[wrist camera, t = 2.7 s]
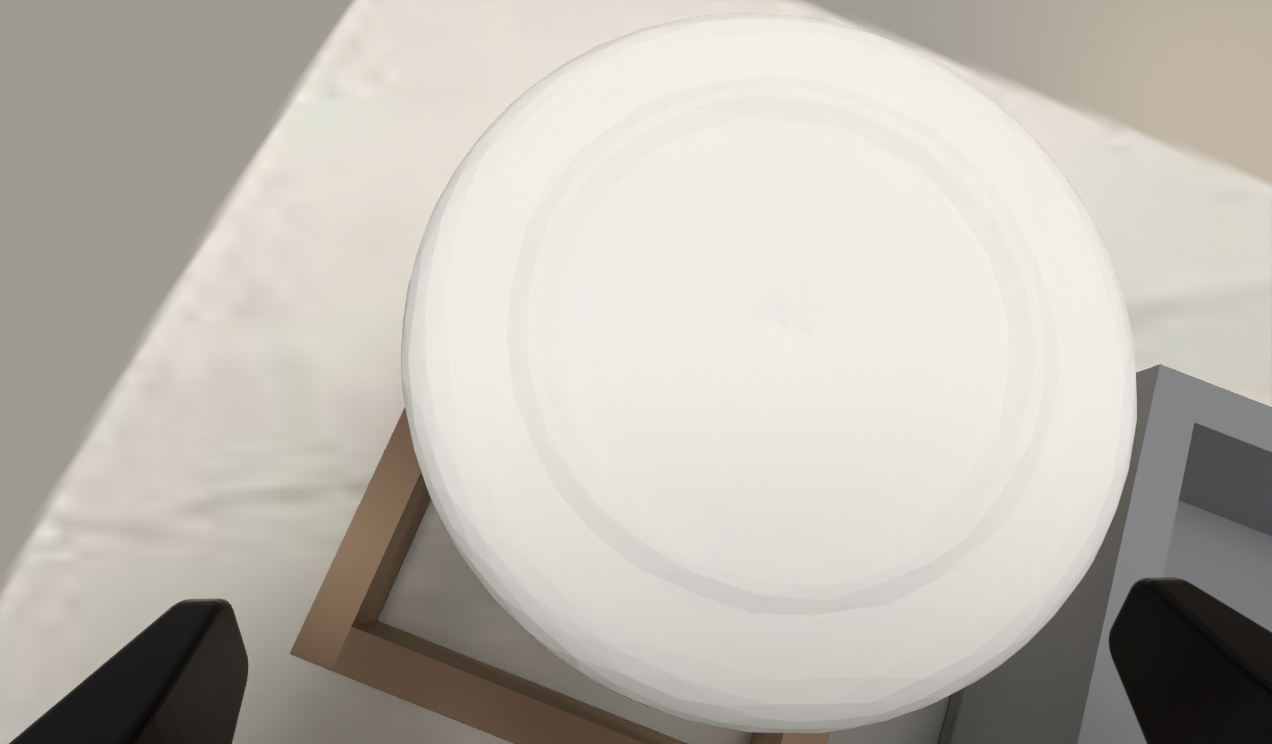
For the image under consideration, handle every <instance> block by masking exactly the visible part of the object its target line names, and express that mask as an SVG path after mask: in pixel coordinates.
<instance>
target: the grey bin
mask: <svg viewBox="0 0 1272 744" xmlns="http://www.w3.org/2000/svg"><path fill="white" fill-rule="evenodd" d="M1136 393H1137V422H1136V428H1135V434H1134V440H1133V446H1132V452H1131V459H1130V465H1129V471H1128V474H1127V477H1126V480H1125V484H1124V487H1123V490H1122V494H1121V497H1120V500H1119V503H1118V507H1117V510H1116V512H1115V515H1114V517H1113V519H1112V521H1111V524H1110V526H1109V528H1108V531H1107V533H1106V535H1105V538H1104V540H1103V542H1102V545H1101V546H1100V548H1099V550H1098V552H1097V554H1096V556H1095V559H1094V561H1093V563H1092V564H1091V566H1090V568H1089V569H1088V571H1087V572H1086V574H1085V575H1084V577H1083V578H1082V580H1081V581H1080V582H1079V584H1078V585H1077V586H1076V588H1075V589H1074V590H1073V592H1072V593H1071V594H1070V596H1069V597H1068V598H1067V600H1066V601H1065V602H1064V603H1063V605H1062V606H1061V607H1060V609H1059V610H1058V611H1057V612H1056V614H1055V615H1054V616H1053V617H1052V618H1051V619H1050V620H1049V622H1048V623H1047V624H1046V625H1045V626H1044V627H1043V628H1042V629H1041V630H1040V631H1039V632H1038V633H1037V634H1036V635H1035V636H1034V637H1033V638H1032V639H1031V640H1030V641H1029V642H1028V643H1027V644H1026V645H1024V646H1023V647H1022V648H1021V649H1020V650H1018V651H1017V652H1016V653H1015V654H1014V655H1012V656H1011V657H1010V658H1009V659H1008V660H1006V661H1005V662H1004V663H1003V664H1002V665H1000V666H999V667H997V668H996V669H994V670H993V671H991V672H990V673H988V674H987V675H985V676H984V677H982V678H981V679H979V680H978V681H976V682H974V683H972V684H970V685H969V686H967V687H965V688H963V689H961V690H959V691H957V692H955V693H953V694H951V697H950V701H949V705H948V709H947V713H946V716H945V720H944V724H943V728H942V732H941V736H940V739H939V743H938V744H1147V743H1146V741H1145V738H1144V736H1143V733H1142V731H1141V728H1140V726H1139V723H1138V721H1137V718H1136V716H1135V714H1134V711H1133V709H1132V706H1131V704H1130V701H1129V699H1128V696H1127V694H1126V692H1125V689H1124V687H1123V684H1122V682H1121V679H1120V677H1119V674H1118V672H1117V670H1116V667H1115V665H1114V662H1113V660H1112V657H1111V654H1110V649H1109V639H1108V638H1109V632H1110V629H1111V627H1112V625H1113V623H1114V621H1115V619H1116V617H1117V615H1118V613H1119V611H1120V609H1121V607H1122V605H1123V603H1124V601H1125V599H1126V597H1127V595H1128V593H1129V591H1130V589H1131V587H1132V586H1133V584H1134V583H1135V582H1137V581H1138V580H1140V579H1143V578H1162V577H1175V578H1181V579H1183V580H1186V581H1188V582H1190V583H1191V584H1193V585H1195V586H1196V587H1198V588H1200V589H1201V590H1203V591H1205V592H1206V593H1208V594H1210V595H1211V596H1213V597H1215V598H1216V599H1218V600H1219V601H1221V602H1223V603H1224V604H1226V605H1228V606H1229V607H1231V608H1233V609H1234V610H1236V611H1238V612H1239V613H1241V614H1243V615H1244V616H1246V617H1247V618H1249V619H1251V620H1252V621H1254V622H1256V623H1257V624H1259V625H1261V626H1262V627H1264V628H1266V629H1267V630H1269V631H1270V632H1272V407H1270V406H1267V405H1264V404H1262V403H1259V402H1257V401H1254V400H1251V399H1249V398H1246V397H1244V396H1241V395H1238V394H1236V393H1233V392H1231V391H1228V390H1225V389H1223V388H1220V387H1218V386H1215V385H1212V384H1210V383H1207V382H1205V381H1202V380H1200V379H1197V378H1194V377H1192V376H1189V375H1187V374H1184V373H1181V372H1179V371H1176V370H1174V369H1171V368H1168V367H1166V366H1163V365H1161V364H1160V365H1157V366H1154V367H1151V368H1149V369H1146V370H1143V371H1140V372H1137V373H1136Z"/></svg>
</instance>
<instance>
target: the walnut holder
mask: <svg viewBox="0 0 1272 744" xmlns="http://www.w3.org/2000/svg"><path fill="white" fill-rule="evenodd" d="M430 500H431V498H430V495H429V492H428V489H427V487H426V484H425V481H424V478H423V475H422V472H421V469H420V466H419V463H418V460H417V457H416V454H415V451H414V447H413V442H412V437H411V433H410V428H409V423H408V419H407V414H406V409H405V408H404V410H403V413H402V415H401V417H400V419H399V421H398V423H397V425H396V428H395V430H394V432H393V434H392V436H391V438H390V440H389V443H388V445H387V447H386V449H385V451H384V453H383V455H382V458H381V460H380V462H379V464H378V466H377V468H376V470H375V473H374V475H373V477H372V479H371V481H370V483H369V485H368V488H367V490H366V492H365V494H364V496H363V498H362V500H361V502H360V505H359V507H358V509H357V511H356V513H355V515H354V517H353V520H352V522H351V524H350V526H349V528H348V530H347V532H346V535H345V537H344V539H343V541H342V543H341V545H340V547H339V550H338V552H337V554H336V556H335V558H334V560H333V562H332V565H331V567H330V569H329V571H328V573H327V575H326V577H325V580H324V582H323V584H322V586H321V588H320V590H319V592H318V595H317V597H316V599H315V601H314V603H313V605H312V607H311V610H310V612H309V614H308V616H307V618H306V620H305V622H304V624H303V627H302V629H301V631H300V633H299V635H298V637H297V639H296V642H295V644H294V646H293V648H292V650H291V652H290V654H291V655H294V656H296V657H299V658H301V659H304V660H306V661H309V662H311V663H314V664H316V665H319V666H321V667H324V668H326V669H329V670H331V671H334V672H336V673H339V674H341V675H344V676H346V677H349V678H351V679H354V680H356V681H359V682H361V683H364V684H366V685H369V686H371V687H374V688H376V689H379V690H381V691H384V692H386V693H389V694H391V695H394V696H396V697H399V698H401V699H404V700H406V701H409V702H411V703H414V704H416V705H419V706H422V707H424V708H427V709H429V710H432V711H434V712H437V713H439V714H442V715H444V716H447V717H449V718H452V719H454V720H457V721H459V722H462V723H464V724H467V725H469V726H472V727H474V728H477V729H479V730H482V731H484V732H487V733H489V734H492V735H494V736H497V737H499V738H502V739H504V740H507V741H509V742H512V743H514V744H686V743H683V742H681V741H678V740H676V739H673V738H671V737H668V736H666V735H663V734H661V733H658V732H656V731H653V730H651V729H648V728H646V727H643V726H641V725H638V724H636V723H633V722H631V721H628V720H626V719H623V718H621V717H618V716H615V715H613V714H610V713H608V712H605V711H603V710H600V709H598V708H595V707H593V706H590V705H588V704H585V703H583V702H580V701H578V700H575V699H573V698H570V697H568V696H565V695H563V694H560V693H558V692H555V691H553V690H550V689H548V688H545V687H542V686H540V685H537V684H535V683H532V682H530V681H527V680H525V679H522V678H520V677H517V676H515V675H512V674H510V673H507V672H505V671H502V670H500V669H497V668H495V667H492V666H490V665H487V664H485V663H482V662H480V661H477V660H475V659H472V658H469V657H467V656H464V655H462V654H459V653H457V652H454V651H452V650H449V649H447V648H444V647H442V646H439V645H437V644H434V643H432V642H429V641H427V640H424V639H422V638H419V637H417V636H414V635H412V634H409V633H407V632H404V631H402V630H399V629H397V628H394V627H391V626H389V625H386V624H384V623H381V622H379V621H377V619H378V616H379V614H380V612H381V610H382V607H383V605H384V603H385V601H386V598H387V596H388V594H389V592H390V589H391V587H392V585H393V583H394V580H395V578H396V576H397V574H398V571H399V569H400V567H401V565H402V562H403V560H404V558H405V556H406V553H407V551H408V549H409V547H410V544H411V542H412V540H413V538H414V535H415V533H416V531H417V529H418V526H419V524H420V522H421V520H422V517H423V515H424V513H425V511H426V509H427V506H428V504H429V502H430ZM829 734H830V732H827V733H820V734H813V733H756V732H754V734H753V737H752V740H751V744H827V741H828V738H829Z"/></svg>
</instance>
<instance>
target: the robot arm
mask: <svg viewBox="0 0 1272 744" xmlns="http://www.w3.org/2000/svg"><path fill="white" fill-rule="evenodd" d="M1108 639H1109V649H1110V654H1111V657H1112V660H1113V662H1114V665H1115V667H1116V670H1117V672H1118V674H1119V677H1120V679H1121V682H1122V684H1123V687H1124V689H1125V692H1126V694H1127V696H1128V699H1129V701H1130V704H1131V706H1132V709H1133V711H1134V714H1135V716H1136V718H1137V721H1138V723H1139V726H1140V728H1141V731H1142V733H1143V736H1144V738H1145V741H1146V743H1147V744H1272V632H1270V631H1269V630H1267V629H1266V628H1264V627H1262V626H1261V625H1259V624H1257V623H1256V622H1254V621H1252V620H1251V619H1249V618H1247V617H1246V616H1244V615H1243V614H1241V613H1239V612H1238V611H1236V610H1234V609H1233V608H1231V607H1229V606H1228V605H1226V604H1224V603H1223V602H1221V601H1219V600H1218V599H1216V598H1215V597H1213V596H1211V595H1210V594H1208V593H1206V592H1205V591H1203V590H1201V589H1200V588H1198V587H1196V586H1195V585H1193V584H1191V583H1190V582H1188V581H1186V580H1183V579H1181V578H1175V577H1162V578H1143V579H1140V580H1138V581H1137V582H1135V583H1134V584H1133V586H1132V587H1131V589H1130V591H1129V593H1128V595H1127V597H1126V599H1125V601H1124V603H1123V605H1122V607H1121V609H1120V611H1119V613H1118V615H1117V617H1116V619H1115V621H1114V623H1113V625H1112V627H1111V629H1110V632H1109V638H1108ZM247 676H248V657H247V653H246V650H245V646H244V643H243V640H242V637H241V633H240V630H239V627H238V624H237V620H236V617H235V614H234V611H233V608H232V606H231V605H230V603H229V602H228V601H226V600H223V599H188V600H183V601H181V602H179V603H177V604H175V605H174V606H172V607H171V608H170V609H169V610H167V611H166V612H165V613H164V614H163V615H161V616H160V617H159V618H158V619H157V620H156V621H154V622H153V623H152V624H151V625H150V626H148V627H147V628H146V629H145V630H144V631H142V632H141V633H140V634H139V635H138V636H137V637H135V638H134V639H133V640H132V641H131V642H129V643H128V644H127V645H126V646H125V647H123V648H122V649H121V650H120V651H119V652H117V653H116V654H115V655H114V656H113V657H112V658H110V659H109V660H108V661H107V662H106V663H104V664H103V665H102V666H101V667H100V668H98V669H97V670H96V671H95V672H94V673H93V674H91V675H90V676H89V677H88V678H87V679H85V680H84V681H83V682H82V683H81V684H79V685H78V686H77V687H76V688H75V689H73V690H72V691H71V692H70V693H69V694H68V695H66V696H65V697H64V698H63V699H62V700H60V701H59V702H58V703H57V704H56V705H54V706H53V707H52V708H51V709H50V710H49V711H47V712H46V713H45V714H44V715H43V716H41V717H40V718H39V719H38V720H37V721H35V722H34V723H33V724H32V725H31V726H29V727H28V728H27V729H26V730H25V731H24V732H22V733H21V734H20V735H19V736H18V737H16V738H15V739H14V740H13V741H12V742H10V743H9V744H232V741H233V737H234V733H235V728H236V724H237V720H238V716H239V712H240V707H241V703H242V699H243V695H244V691H245V687H246V682H247Z"/></svg>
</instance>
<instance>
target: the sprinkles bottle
mask: <svg viewBox="0 0 1272 744" xmlns="http://www.w3.org/2000/svg"><path fill="white" fill-rule="evenodd" d="M401 372H402V385H403V393H404V401H405V409H406V414H407V419H408V423H409V428H410V433H411V437H412V442H413V447H414V451H415V454H416V457H417V460H418V463H419V466H420V469H421V472H422V475H423V478H424V481H425V484H426V487H427V489H428V492H429V495H430V498H431V500H432V503H433V505H434V507H435V509H436V511H437V513H438V515H439V517H440V519H441V521H442V523H443V525H444V527H445V529H446V531H447V533H448V535H449V536H450V538H451V540H452V542H453V543H454V545H455V547H456V548H457V550H458V552H459V553H460V555H461V557H462V558H463V559H464V561H465V562H466V563H467V565H468V566H469V567H470V568H471V570H472V571H473V572H474V574H475V575H476V576H477V578H478V579H479V580H480V582H481V583H482V584H483V586H484V587H485V588H486V589H487V591H488V592H489V593H490V595H491V596H492V597H493V598H494V599H495V600H496V601H497V602H498V603H499V604H500V606H501V607H502V608H503V609H504V610H505V611H506V612H507V613H508V614H509V615H510V616H511V617H512V618H513V620H514V621H516V622H517V623H518V624H519V625H520V626H521V627H522V628H523V629H525V630H526V631H527V632H528V633H529V634H530V635H531V636H532V637H534V638H535V639H536V640H537V641H538V642H539V643H540V644H542V645H543V646H544V647H545V648H546V649H547V650H548V651H549V652H551V653H552V654H553V655H555V656H556V657H558V658H559V659H561V660H563V661H564V662H566V663H567V664H569V665H570V666H572V667H573V668H575V669H576V670H578V671H579V672H581V673H582V674H584V675H585V676H587V677H588V678H590V679H591V680H593V681H594V682H596V683H597V684H599V685H600V686H603V687H605V688H607V689H609V690H612V691H614V692H616V693H618V694H621V695H623V696H625V697H627V698H629V699H632V700H634V701H636V702H638V703H641V704H643V705H645V706H647V707H650V708H653V709H656V710H658V711H661V712H664V713H667V714H669V715H672V716H675V717H678V718H680V719H683V720H687V721H691V722H696V723H701V724H706V725H711V726H715V727H721V728H726V729H732V730H738V731H743V732H756V733H813V734H820V733H827V732H834V731H842V730H849V729H853V728H858V727H862V726H866V725H871V724H875V723H880V722H884V721H887V720H890V719H893V718H896V717H899V716H902V715H905V714H908V713H911V712H914V711H917V710H920V709H922V708H924V707H927V706H929V705H931V704H934V703H936V702H938V701H940V700H942V699H944V698H946V697H948V696H949V695H951V694H953V693H955V692H957V691H959V690H961V689H963V688H965V687H967V686H969V685H970V684H972V683H974V682H976V681H978V680H979V679H981V678H982V677H984V676H985V675H987V674H988V673H990V672H991V671H993V670H994V669H996V668H997V667H999V666H1000V665H1002V664H1003V663H1004V662H1005V661H1006V660H1008V659H1009V658H1010V657H1011V656H1012V655H1014V654H1015V653H1016V652H1017V651H1018V650H1020V649H1021V648H1022V647H1023V646H1024V645H1026V644H1027V643H1028V642H1029V641H1030V640H1031V639H1032V638H1033V637H1034V636H1035V635H1036V634H1037V633H1038V632H1039V631H1040V630H1041V629H1042V628H1043V627H1044V626H1045V625H1046V624H1047V623H1048V622H1049V620H1050V619H1051V618H1052V617H1053V616H1054V615H1055V614H1056V612H1057V611H1058V610H1059V609H1060V607H1061V606H1062V605H1063V603H1064V602H1065V601H1066V600H1067V598H1068V597H1069V596H1070V594H1071V593H1072V592H1073V590H1074V589H1075V588H1076V586H1077V585H1078V584H1079V582H1080V581H1081V580H1082V578H1083V577H1084V575H1085V574H1086V572H1087V571H1088V569H1089V568H1090V566H1091V564H1092V563H1093V561H1094V559H1095V556H1096V554H1097V552H1098V550H1099V548H1100V546H1101V545H1102V542H1103V540H1104V538H1105V535H1106V533H1107V531H1108V528H1109V526H1110V524H1111V521H1112V519H1113V517H1114V515H1115V512H1116V510H1117V507H1118V503H1119V500H1120V497H1121V494H1122V490H1123V487H1124V484H1125V480H1126V477H1127V474H1128V471H1129V465H1130V459H1131V452H1132V446H1133V440H1134V434H1135V428H1136V422H1137V393H1136V367H1135V353H1134V343H1133V336H1132V331H1131V325H1130V319H1129V315H1128V311H1127V307H1126V302H1125V298H1124V294H1123V291H1122V288H1121V285H1120V282H1119V279H1118V276H1117V273H1116V270H1115V267H1114V265H1113V262H1112V260H1111V257H1110V255H1109V252H1108V250H1107V247H1106V245H1105V243H1104V240H1103V238H1102V236H1101V234H1100V232H1099V230H1098V228H1097V226H1096V225H1095V223H1094V221H1093V219H1092V217H1091V215H1090V214H1089V212H1088V210H1087V208H1086V206H1085V205H1084V203H1083V201H1082V200H1081V198H1080V197H1079V195H1078V194H1077V192H1076V191H1075V189H1074V187H1073V186H1072V184H1071V183H1070V181H1069V180H1068V178H1067V177H1066V175H1065V174H1064V173H1063V171H1062V170H1061V169H1060V168H1059V166H1058V165H1057V164H1056V163H1055V162H1054V160H1053V159H1052V158H1051V157H1050V155H1049V154H1048V153H1047V152H1046V151H1045V149H1044V148H1043V147H1042V146H1041V145H1040V143H1039V142H1038V141H1037V140H1036V139H1035V138H1034V137H1033V136H1032V135H1031V134H1030V133H1029V132H1028V131H1027V130H1026V129H1025V128H1024V127H1023V126H1022V125H1021V123H1020V122H1019V121H1018V120H1016V119H1015V118H1014V117H1013V116H1012V115H1011V114H1010V113H1009V112H1008V111H1007V110H1006V109H1004V108H1003V107H1002V106H1001V105H1000V104H999V103H998V102H997V101H996V100H995V99H993V98H992V97H990V96H989V95H988V94H986V93H985V92H984V91H982V90H981V89H979V88H978V87H977V86H975V85H974V84H972V83H971V82H969V81H968V80H966V79H965V78H963V77H962V76H960V75H959V74H958V73H956V72H954V71H953V70H951V69H950V68H948V67H947V66H945V65H943V64H941V63H939V62H937V61H934V60H932V59H930V58H928V57H926V56H924V55H922V54H920V53H918V52H916V51H914V50H912V49H910V48H908V47H905V46H903V45H901V44H898V43H896V42H894V41H891V40H889V39H886V38H883V37H881V36H878V35H875V34H872V33H870V32H867V31H863V30H859V29H855V28H852V27H848V26H844V25H840V24H837V23H832V22H827V21H822V20H817V19H813V18H805V17H798V16H791V15H772V14H753V13H730V14H717V15H704V16H697V17H692V18H688V19H683V20H679V21H675V22H670V23H666V24H661V25H657V26H652V27H648V28H644V29H641V30H639V31H636V32H634V33H631V34H628V35H626V36H623V37H620V38H618V39H615V40H613V41H610V42H607V43H605V44H602V45H599V46H597V47H595V48H593V49H591V50H590V51H588V52H586V53H584V54H582V55H581V56H579V57H577V58H575V59H573V60H571V61H570V62H568V63H566V64H564V65H562V66H561V67H559V68H558V69H556V70H555V71H554V72H552V73H551V74H549V75H548V76H547V77H545V78H544V79H542V80H541V81H540V82H538V83H537V84H535V85H534V86H533V87H531V88H530V89H529V90H528V91H527V92H525V93H524V94H523V95H522V96H520V97H519V98H518V99H517V100H515V101H514V102H513V103H512V104H511V105H510V106H509V107H508V108H507V109H506V110H505V111H504V112H503V113H502V114H501V115H500V116H499V117H498V118H496V119H495V121H494V122H493V123H492V124H491V125H490V126H489V127H488V129H487V130H486V131H485V132H484V133H483V134H482V136H481V137H480V138H479V139H478V140H477V142H476V143H475V144H474V146H473V147H472V148H471V150H470V151H469V153H468V154H467V155H466V157H465V158H464V159H463V161H462V162H461V163H460V165H459V166H458V167H457V169H456V170H455V172H454V173H453V175H452V177H451V179H450V180H449V182H448V184H447V186H446V188H445V189H444V191H443V193H442V195H441V196H440V198H439V200H438V202H437V204H436V205H435V207H434V210H433V212H432V215H431V217H430V220H429V222H428V225H427V227H426V229H425V232H424V235H423V238H422V241H421V244H420V247H419V250H418V253H417V257H416V260H415V264H414V267H413V271H412V275H411V278H410V282H409V286H408V291H407V298H406V305H405V312H404V319H403V332H402V347H401Z"/></svg>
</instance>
